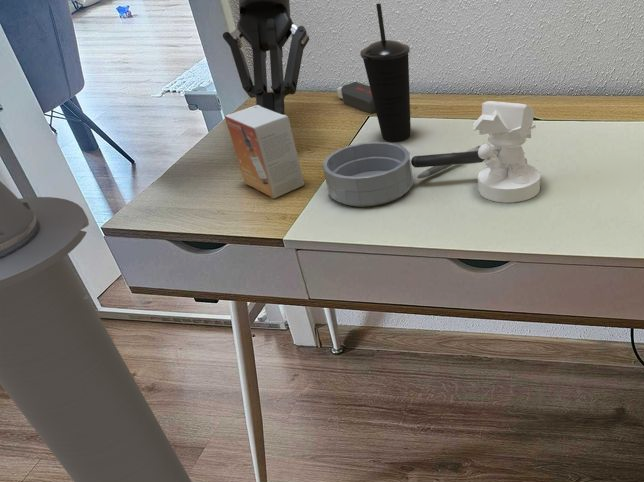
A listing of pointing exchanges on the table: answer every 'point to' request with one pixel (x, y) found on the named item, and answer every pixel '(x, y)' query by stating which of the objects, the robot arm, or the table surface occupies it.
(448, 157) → the pan handle
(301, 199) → the table surface
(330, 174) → the pan
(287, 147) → the small box
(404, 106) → the drinking cup
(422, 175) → the pen
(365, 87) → the usb drive
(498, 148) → the character figurine
